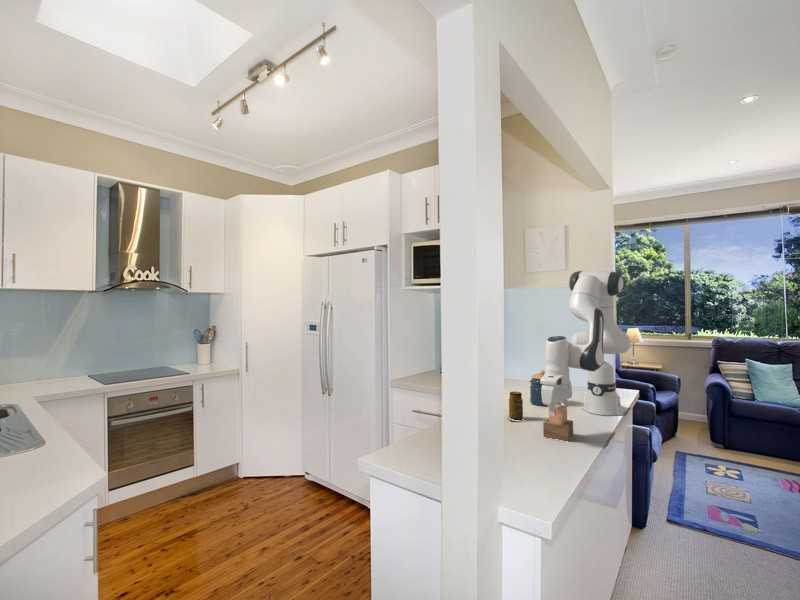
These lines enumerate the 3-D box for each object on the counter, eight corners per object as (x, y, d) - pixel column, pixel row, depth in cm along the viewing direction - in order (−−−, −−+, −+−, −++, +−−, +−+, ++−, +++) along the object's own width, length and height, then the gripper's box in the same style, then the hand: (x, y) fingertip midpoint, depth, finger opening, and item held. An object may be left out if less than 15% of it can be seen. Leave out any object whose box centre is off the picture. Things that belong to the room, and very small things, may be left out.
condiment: (521, 416, 182) (520, 390, 183) (527, 421, 174) (527, 394, 174) (505, 417, 182) (505, 391, 182) (511, 422, 174) (510, 395, 174)
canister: (561, 404, 205) (560, 370, 205) (546, 408, 197) (545, 373, 198) (540, 399, 215) (539, 367, 216) (524, 403, 208) (524, 370, 209)
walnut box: (549, 432, 160) (549, 417, 160) (573, 436, 154) (573, 420, 154) (543, 438, 152) (543, 422, 152) (568, 442, 147) (567, 426, 147)
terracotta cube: (554, 419, 157) (554, 404, 157) (567, 421, 153) (566, 406, 153) (549, 421, 153) (548, 406, 153) (562, 424, 150) (561, 408, 150)
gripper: (560, 373, 164) (561, 406, 163) (538, 380, 149) (538, 416, 149) (575, 375, 159) (576, 409, 159) (554, 382, 145) (555, 419, 144)
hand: (558, 413), depth 154 cm, fingers open, 8 cm apart
